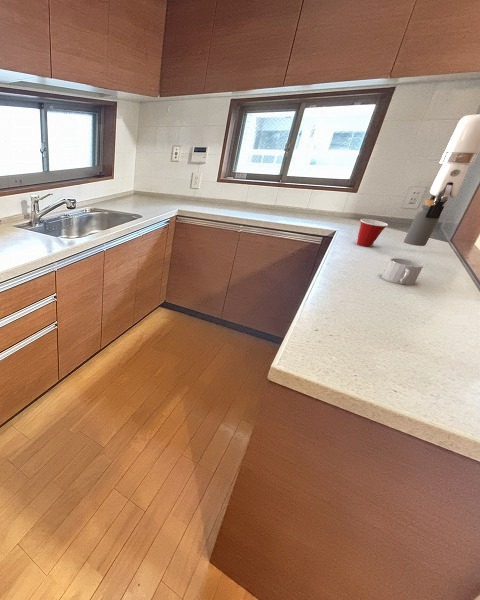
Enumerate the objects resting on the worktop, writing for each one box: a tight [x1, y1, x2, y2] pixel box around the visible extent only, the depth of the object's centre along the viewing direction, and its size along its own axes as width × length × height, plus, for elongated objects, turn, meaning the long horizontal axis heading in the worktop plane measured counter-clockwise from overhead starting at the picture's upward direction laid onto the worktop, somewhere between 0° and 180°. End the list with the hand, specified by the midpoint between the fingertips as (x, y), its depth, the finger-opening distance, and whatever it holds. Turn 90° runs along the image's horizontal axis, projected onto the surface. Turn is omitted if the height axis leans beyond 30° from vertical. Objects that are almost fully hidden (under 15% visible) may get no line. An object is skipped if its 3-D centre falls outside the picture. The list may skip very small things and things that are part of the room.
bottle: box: [403, 198, 441, 247], centre depth 112 cm, size 6×6×15 cm
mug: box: [381, 257, 424, 286], centre depth 119 cm, size 13×9×7 cm
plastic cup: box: [356, 218, 389, 248], centre depth 160 cm, size 11×11×12 cm
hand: (429, 215), depth 111 cm, fingers closed on bottle, 5 cm apart
